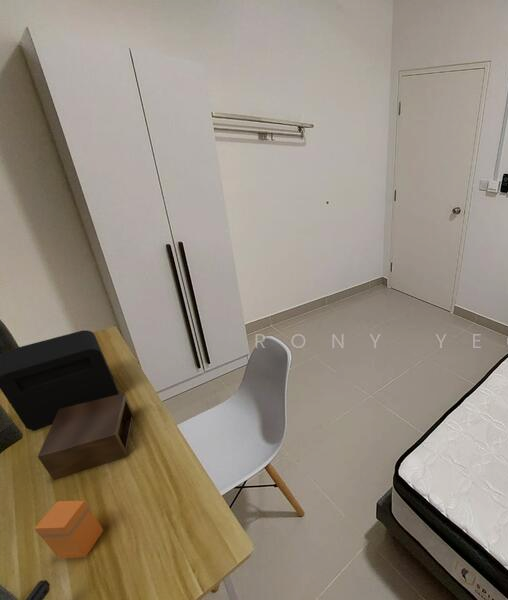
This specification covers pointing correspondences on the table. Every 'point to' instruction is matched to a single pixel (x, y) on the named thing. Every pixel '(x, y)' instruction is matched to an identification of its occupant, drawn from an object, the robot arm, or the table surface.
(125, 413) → the open-ended wooden box
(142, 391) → the table surface
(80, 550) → the package
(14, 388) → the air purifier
